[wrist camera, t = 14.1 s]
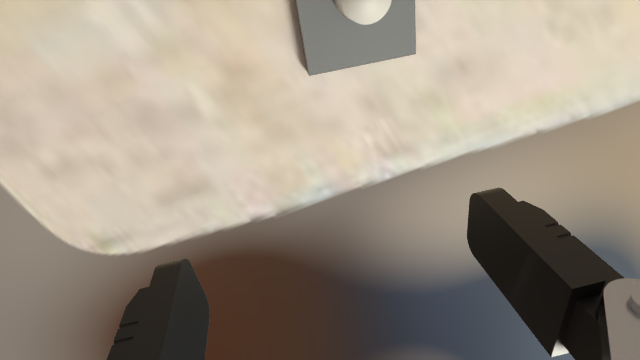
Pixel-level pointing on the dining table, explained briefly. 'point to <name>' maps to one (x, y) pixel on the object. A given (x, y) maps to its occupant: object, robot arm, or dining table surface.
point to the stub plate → (355, 32)
